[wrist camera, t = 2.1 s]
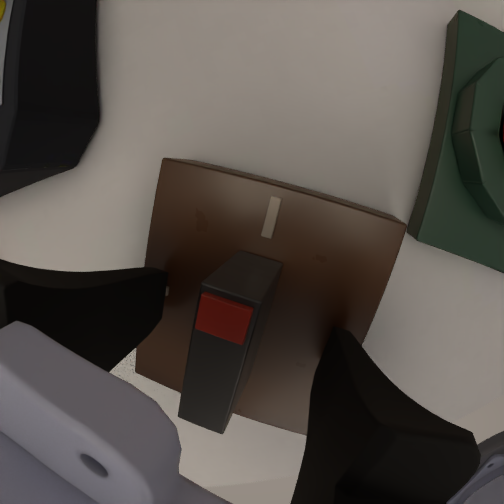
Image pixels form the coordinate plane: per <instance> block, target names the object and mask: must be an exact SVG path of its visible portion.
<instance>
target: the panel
mask: <svg viewBox="0 0 504 504" xmlns="http://www.w3.org/2000/svg"><path fill="white" fill-rule="evenodd" d="M406 228H407V225H406V224H405V223H404V222H402V221H401V220H399V219H397V218H396V217H394V216H393V215H390V214H387V213H384V212H381V211H378V210H375V209H372V208H369V207H366V206H363V205H359V204H356V203H353V202H350V201H347V200H343V199H340V198H337V197H334V196H330V195H327V194H323V193H320V192H317V191H313V190H310V189H306V188H303V187H299V186H295V185H292V184H288V183H284V182H281V181H277V180H273V179H269V178H265V177H262V176H258V175H254V174H250V173H246V172H242V171H238V170H233V169H229V168H225V167H221V166H217V165H212V164H208V163H203V162H199V161H194V160H188V159H175V158H163V160H162V164H161V169H160V174H159V179H158V184H157V189H156V195H155V200H154V206H153V212H152V218H151V224H150V230H149V237H148V244H147V251H146V258H145V266H144V267H154V268H158V269H160V270H163V271H166V272H169V273H168V280H167V286H166V293H165V300H164V307H163V315H162V319H161V321H160V322H159V323H158V324H157V326H156V327H155V328H154V330H153V331H152V332H151V333H150V335H149V336H148V337H147V338H145V339H144V340H143V341H142V342H141V343H140V344H139V345H138V346H137V348H136V365H135V372H136V373H138V374H140V375H142V376H144V377H146V378H149V379H151V380H153V381H155V382H157V383H159V384H162V385H164V386H166V387H168V388H171V389H173V390H175V391H178V392H180V393H181V392H182V386H183V380H184V374H185V368H186V362H187V356H188V351H189V345H190V339H191V334H192V328H193V323H194V317H195V312H196V307H197V302H198V296H199V291H200V286H201V283H202V282H203V281H204V280H205V279H206V278H207V277H209V276H210V275H211V274H212V273H213V272H215V271H216V270H217V269H218V268H219V267H220V266H222V265H223V264H224V263H225V262H226V261H228V260H229V259H230V258H231V257H232V256H234V255H235V254H236V253H237V252H239V251H244V252H248V253H251V254H254V255H257V256H261V257H264V258H267V259H270V260H274V261H277V262H280V263H282V264H283V267H282V270H281V274H280V277H279V281H278V284H277V287H276V291H275V294H274V298H273V301H272V304H271V308H270V311H269V315H268V318H267V321H266V325H265V328H264V331H263V334H262V338H261V341H260V344H259V347H258V351H257V354H256V357H255V360H254V364H253V367H252V370H251V373H250V376H249V378H248V381H247V383H246V385H245V387H244V390H243V392H242V394H241V396H240V399H239V401H238V403H237V405H236V407H235V410H234V412H233V413H235V414H237V415H240V416H243V417H246V418H249V419H252V420H255V421H259V422H262V423H265V424H268V425H271V426H275V427H278V428H282V429H285V430H289V431H292V432H296V433H299V434H303V435H307V428H308V416H309V404H310V392H311V388H312V383H313V378H314V374H315V370H316V368H317V366H318V363H319V361H320V359H321V356H322V354H323V351H324V349H325V347H326V344H327V342H328V339H329V337H330V334H331V332H332V329H333V327H338V328H341V329H345V330H348V331H350V332H351V333H352V334H353V335H354V337H355V338H356V339H357V341H358V342H359V343H360V345H361V346H362V344H363V341H364V339H365V337H366V335H367V332H368V330H369V328H370V325H371V323H372V321H373V318H374V316H375V313H376V311H377V309H378V306H379V304H380V301H381V299H382V296H383V293H384V291H385V288H386V286H387V283H388V280H389V278H390V275H391V272H392V269H393V267H394V264H395V261H396V258H397V255H398V252H399V249H400V247H401V244H402V240H403V237H404V234H405V231H406Z"/></svg>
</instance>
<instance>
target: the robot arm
mask: <svg viewBox="0 0 504 504" xmlns="http://www.w3.org/2000/svg"><path fill="white" fill-rule="evenodd" d="M168 273H169V272H166V271H163V270H160V269H158V268H154V267H141V268H129V269H119V270H108V271H93V272H66V271H55V270H46V269H38V268H33V267H27V266H23V265H19V264H15V263H11V262H8V261H4V260H1V259H0V504H232V503H230V502H228V501H226V500H225V499H223V498H221V497H219V496H217V495H215V494H213V493H211V492H210V491H208V490H206V489H204V488H202V487H201V486H199V485H197V484H196V483H194V482H192V481H190V480H189V479H187V478H186V477H184V476H182V475H181V474H179V461H180V455H181V450H182V449H181V445H180V441H179V436H178V432H177V428H176V426H175V425H174V423H173V422H172V421H171V420H170V419H169V417H168V416H167V415H166V414H165V412H164V411H163V410H162V409H161V407H160V406H159V405H158V403H157V402H156V401H154V400H153V399H152V398H150V397H149V396H147V395H146V394H144V393H143V392H141V391H140V390H139V389H137V388H136V387H134V386H133V385H132V384H130V383H128V382H126V381H124V380H122V379H120V378H118V377H116V376H114V375H113V374H111V373H109V372H110V371H111V370H112V369H113V368H114V367H115V366H116V365H117V364H118V363H119V362H120V361H121V360H122V359H124V358H125V357H126V356H127V355H128V354H129V353H130V352H131V351H132V350H134V349H135V348H136V347H137V346H138V345H139V344H140V343H141V342H142V341H143V340H144V339H145V338H147V337H148V336H149V335H150V333H151V332H152V331H153V330H154V328H155V327H156V326H157V324H158V323H159V322H160V321H161V319H162V315H163V307H164V300H165V293H166V286H167V280H168ZM480 457H481V455H480V452H479V449H478V446H477V444H476V441H475V438H474V436H473V433H472V432H471V431H468V430H466V429H464V428H461V427H459V426H457V425H455V424H452V423H450V422H448V421H446V420H444V419H442V418H440V417H439V416H437V415H435V414H433V413H432V412H430V411H428V410H427V409H425V408H424V407H422V406H421V405H419V404H418V403H417V402H415V401H414V400H412V399H411V398H410V397H408V396H407V395H406V394H405V393H404V392H402V391H401V390H400V389H399V388H398V387H397V386H396V385H395V384H394V383H392V382H391V381H390V380H389V379H388V378H387V377H386V376H385V375H384V373H383V372H382V371H381V370H380V369H379V368H378V367H377V365H376V364H375V363H374V362H373V361H372V359H371V358H370V357H369V355H368V354H367V353H366V351H365V350H364V349H363V347H362V346H361V345H360V343H359V342H358V341H357V339H356V338H355V337H354V335H353V334H352V333H351V332H350V331H348V330H345V329H341V328H338V327H333V329H332V332H331V334H330V337H329V339H328V342H327V344H326V347H325V349H324V351H323V354H322V356H321V359H320V361H319V363H318V366H317V368H316V370H315V374H314V378H313V383H312V388H311V392H310V404H309V416H308V428H307V439H306V446H305V451H304V456H303V460H302V464H301V468H300V472H299V476H298V480H297V483H296V487H295V490H294V494H293V497H292V500H291V504H504V454H494V455H492V456H491V457H490V458H489V459H488V460H487V461H486V462H485V463H484V465H483V466H482V467H481V468H480V469H479V470H478V471H477V472H476V470H477V468H478V466H479V464H480ZM475 472H476V473H475ZM474 473H475V474H474Z"/></svg>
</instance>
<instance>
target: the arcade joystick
mask: <svg viewBox="0 0 504 504" xmlns="http://www.w3.org/2000/svg"><path fill="white" fill-rule="evenodd" d="M95 19H96V0H0V197H1V196H3V195H6V194H8V193H10V192H13V191H15V190H17V189H20V188H22V187H25V186H27V185H30V184H32V183H35V182H37V181H40V180H42V179H45V178H48V177H50V176H53V175H56V174H59V173H61V172H64V171H67V170H70V169H73V168H74V167H75V166H76V165H77V164H78V162H79V160H80V158H81V156H82V154H83V152H84V150H85V148H86V146H87V144H88V142H89V140H90V138H91V136H92V134H93V133H94V131H95V129H96V127H97V125H98V122H99V109H98V96H97V79H96V51H95Z"/></svg>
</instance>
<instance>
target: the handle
mask: <svg viewBox="0 0 504 504" xmlns="http://www.w3.org/2000/svg"><path fill="white" fill-rule="evenodd" d="M282 267H283V264H282V263H280V262H277V261H274V260H270V259H267V258H264V257H261V256H257V255H254V254H251V253H248V252H244V251H239V252H237V253H236V254H235V255H234V256H232V257H231V258H230V259H229V260H228V261H226V262H225V263H224V264H223V265H222V266H220V267H219V268H218V269H217V270H216V271H215V272H213V273H212V274H211V275H210V276H209V277H207V278H206V279H205V280H204V281H203V282H202V283H201V286H200V291H199V296H198V302H197V307H196V312H195V317H194V323H193V328H192V334H191V339H190V345H189V351H188V356H187V362H186V368H185V374H184V380H183V386H182V392H181V399H180V405H179V412H178V417H179V418H182V419H184V420H186V421H189V422H191V423H194V424H196V425H199V426H201V427H204V428H206V429H209V430H212V431H214V432H217V433H220V434H223V433H224V431H225V429H226V427H227V425H228V423H229V420H230V418H231V416H232V414H233V412H234V410H235V407H236V405H237V403H238V401H239V399H240V396H241V394H242V392H243V390H244V387H245V385H246V383H247V381H248V378H249V376H250V373H251V370H252V367H253V364H254V360H255V357H256V354H257V351H258V347H259V344H260V341H261V338H262V334H263V331H264V328H265V325H266V321H267V318H268V315H269V311H270V308H271V304H272V301H273V298H274V294H275V291H276V287H277V284H278V281H279V277H280V274H281V270H282Z"/></svg>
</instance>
